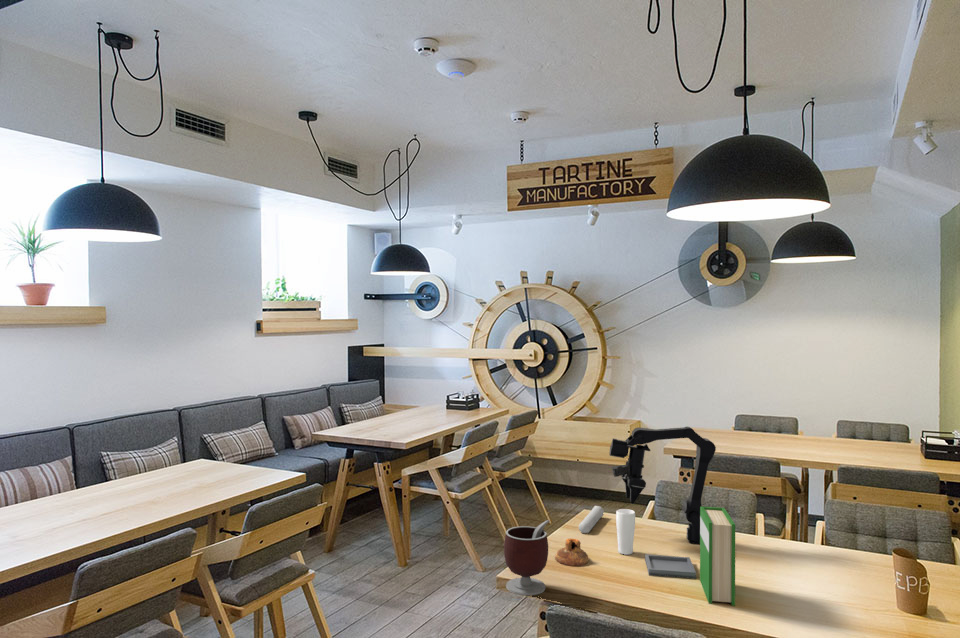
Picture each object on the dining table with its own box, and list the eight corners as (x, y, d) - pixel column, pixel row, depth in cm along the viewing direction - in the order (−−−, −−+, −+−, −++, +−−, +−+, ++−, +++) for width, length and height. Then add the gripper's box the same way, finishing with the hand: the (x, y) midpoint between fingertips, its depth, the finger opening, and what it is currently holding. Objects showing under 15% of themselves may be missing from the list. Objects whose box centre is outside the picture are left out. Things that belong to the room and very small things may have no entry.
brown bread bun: (587, 555, 227) (587, 535, 228) (589, 567, 216) (589, 546, 216) (554, 553, 229) (554, 533, 229) (555, 566, 217) (555, 544, 217)
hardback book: (735, 606, 186) (735, 524, 187) (708, 603, 188) (709, 522, 188) (724, 582, 204) (724, 507, 204) (699, 580, 205) (700, 506, 205)
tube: (591, 526, 249) (605, 508, 272) (579, 520, 251) (594, 503, 274) (587, 538, 249) (601, 520, 272) (575, 532, 251) (590, 514, 274)
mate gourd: (518, 600, 189) (518, 533, 189) (495, 583, 201) (496, 520, 202) (560, 590, 196) (561, 525, 196) (536, 574, 208) (537, 514, 209)
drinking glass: (636, 551, 231) (636, 510, 232) (632, 557, 225) (633, 515, 225) (618, 548, 234) (618, 507, 234) (613, 554, 228) (614, 512, 228)
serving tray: (689, 563, 220) (689, 557, 220) (696, 578, 206) (696, 572, 206) (645, 560, 223) (645, 554, 223) (648, 575, 209) (648, 569, 209)
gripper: (611, 453, 256) (605, 491, 255) (619, 460, 237) (612, 502, 236) (638, 458, 255) (633, 496, 254) (648, 465, 236) (642, 507, 235)
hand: (629, 500), depth 245 cm, fingers open, 9 cm apart
